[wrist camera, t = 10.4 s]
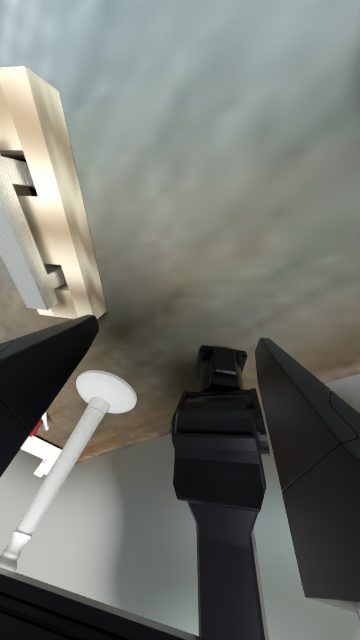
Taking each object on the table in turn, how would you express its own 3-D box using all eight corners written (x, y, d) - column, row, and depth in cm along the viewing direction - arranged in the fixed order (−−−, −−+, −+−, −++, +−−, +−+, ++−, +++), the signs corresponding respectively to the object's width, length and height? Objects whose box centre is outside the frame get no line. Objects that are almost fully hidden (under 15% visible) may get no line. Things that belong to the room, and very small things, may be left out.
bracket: (64, 447, 61) (46, 474, 54) (57, 450, 64) (40, 477, 58) (29, 429, 57) (5, 456, 51) (24, 434, 61) (1, 460, 55)
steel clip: (83, 288, 23) (47, 310, 18) (67, 286, 24) (27, 307, 19) (42, 143, 16) (-40, 112, 11) (19, 143, 16) (-71, 113, 11)
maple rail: (106, 310, 25) (94, 321, 22) (56, 303, 26) (39, 314, 23) (58, 91, 14) (24, 66, 11) (-26, 95, 15) (-75, 72, 12)
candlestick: (76, 361, 33) (-377, 858, 8) (141, 383, 33) (-98, 941, 8) (79, 398, 40) (-149, 716, 15) (133, 415, 40) (-5, 760, 15)
